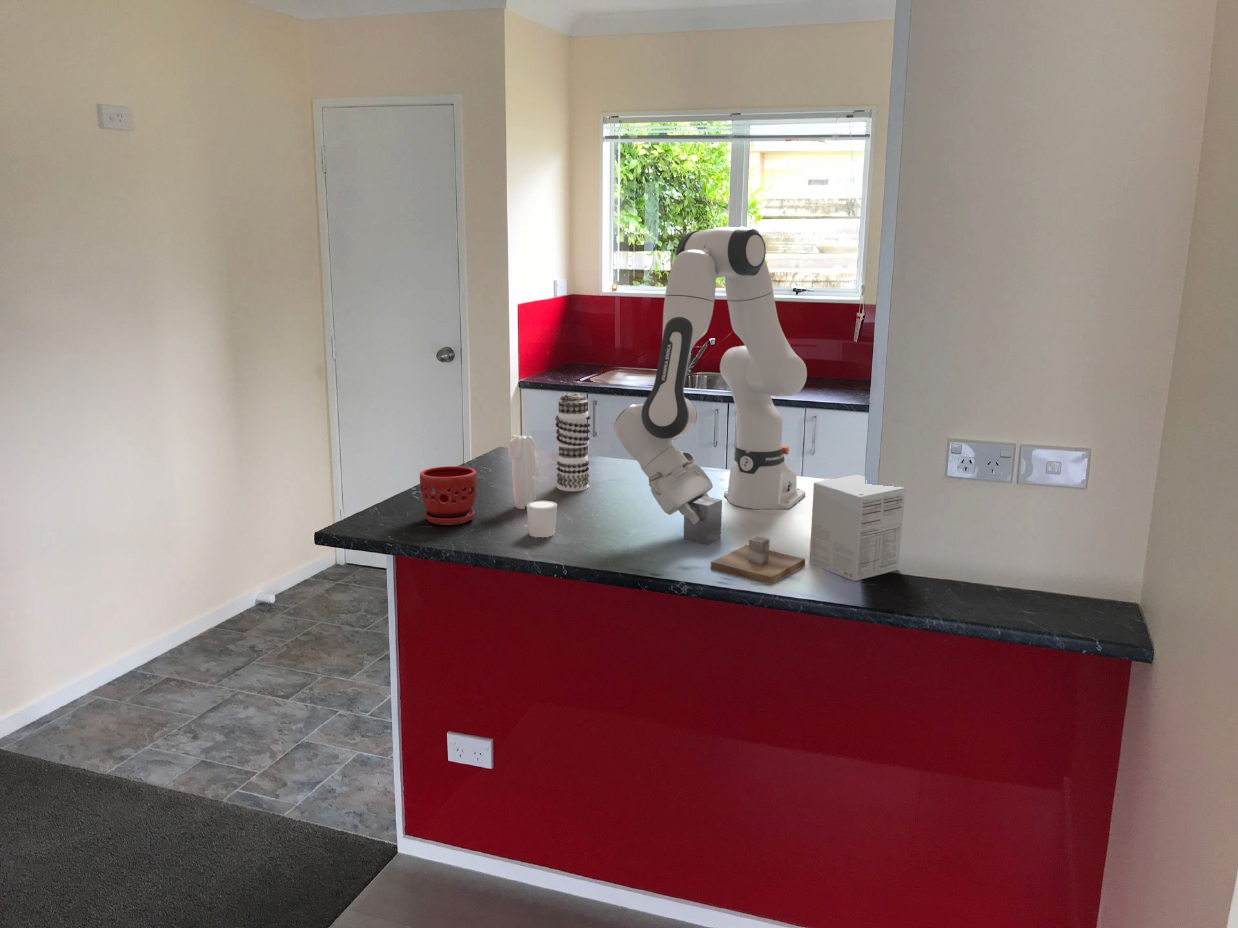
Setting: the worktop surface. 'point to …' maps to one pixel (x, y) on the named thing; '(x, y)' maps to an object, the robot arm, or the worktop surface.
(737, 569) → the tang block
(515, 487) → the white figurine
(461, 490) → the plant pot
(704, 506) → the grey rectangular block
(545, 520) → the white short cylinder
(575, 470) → the decorative candle
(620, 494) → the worktop surface
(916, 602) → the worktop surface
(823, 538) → the supplement box
